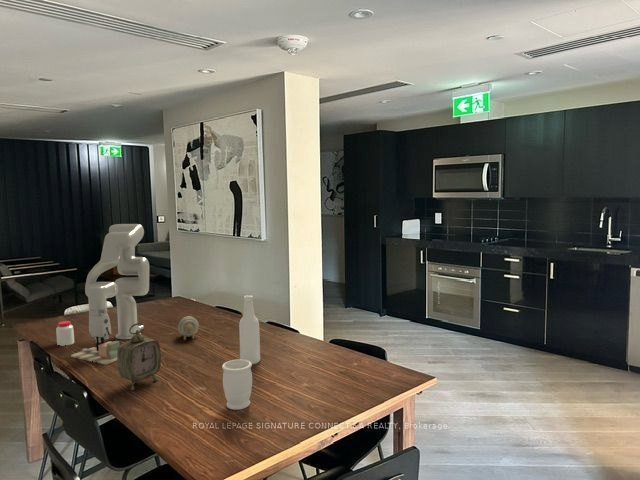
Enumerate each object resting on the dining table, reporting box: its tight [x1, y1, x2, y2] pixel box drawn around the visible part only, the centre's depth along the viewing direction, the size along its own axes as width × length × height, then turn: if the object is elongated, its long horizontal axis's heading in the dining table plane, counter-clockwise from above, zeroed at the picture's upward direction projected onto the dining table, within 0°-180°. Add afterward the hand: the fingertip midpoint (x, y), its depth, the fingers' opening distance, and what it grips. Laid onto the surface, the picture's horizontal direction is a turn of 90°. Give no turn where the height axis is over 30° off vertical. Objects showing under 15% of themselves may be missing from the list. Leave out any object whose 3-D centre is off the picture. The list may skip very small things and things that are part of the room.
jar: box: [221, 359, 253, 411], centre depth 166 cm, size 11×10×15 cm
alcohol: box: [238, 294, 261, 366], centre depth 207 cm, size 9×9×30 cm
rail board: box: [70, 340, 120, 366], centre depth 218 cm, size 24×12×8 cm, turn 63°
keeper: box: [98, 340, 112, 358], centre depth 215 cm, size 5×6×6 cm
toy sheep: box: [177, 315, 200, 341], centre depth 246 cm, size 11×17×11 cm, turn 23°
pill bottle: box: [55, 320, 75, 347], centre depth 238 cm, size 8×8×11 cm
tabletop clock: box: [116, 322, 162, 391], centre depth 185 cm, size 14×9×25 cm, turn 148°
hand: (100, 350), depth 218 cm, fingers closed
